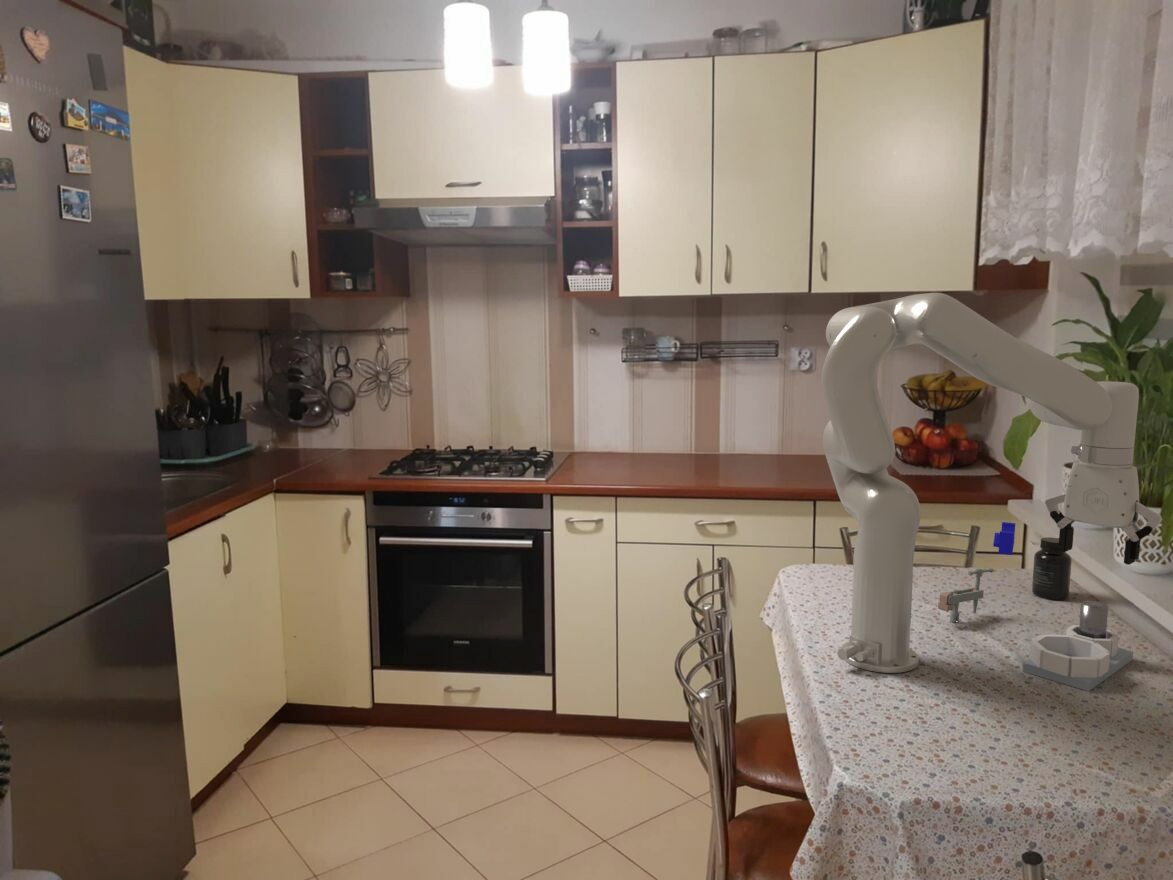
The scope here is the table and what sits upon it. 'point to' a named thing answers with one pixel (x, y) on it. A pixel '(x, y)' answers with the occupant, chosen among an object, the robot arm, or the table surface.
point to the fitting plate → (1076, 658)
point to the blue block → (1005, 538)
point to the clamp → (962, 596)
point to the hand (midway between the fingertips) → (1097, 556)
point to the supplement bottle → (1051, 571)
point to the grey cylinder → (1093, 619)
